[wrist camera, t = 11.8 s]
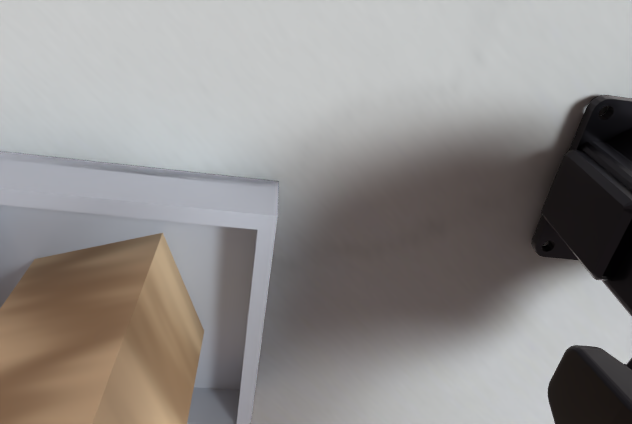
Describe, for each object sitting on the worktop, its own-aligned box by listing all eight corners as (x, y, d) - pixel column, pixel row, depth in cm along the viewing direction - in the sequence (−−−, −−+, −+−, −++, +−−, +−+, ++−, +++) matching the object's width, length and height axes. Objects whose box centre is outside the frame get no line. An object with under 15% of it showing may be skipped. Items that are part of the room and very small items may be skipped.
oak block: (162, 232, 20) (49, 540, 10) (204, 331, 22) (144, 651, 13) (34, 259, 20) (-191, 581, 11) (90, 353, 23) (-52, 681, 13)
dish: (278, 181, 20) (278, 215, 17) (252, 389, 25) (249, 436, 23) (-41, 146, 18) (-85, 179, 16) (4, 374, 24) (-24, 421, 22)
